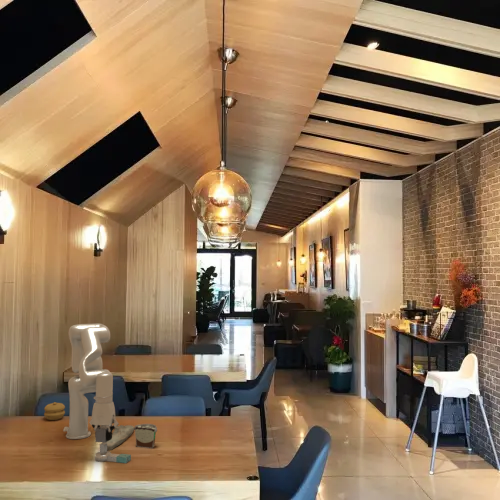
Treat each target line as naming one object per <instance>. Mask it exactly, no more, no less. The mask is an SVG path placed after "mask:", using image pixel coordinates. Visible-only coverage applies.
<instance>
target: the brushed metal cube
mask: <svg viewBox="0 0 500 500" xmlns="http://www.w3.org/2000/svg"><path fill="white" fill-rule="evenodd" d="M107 432H108V429H107V426H100V427H98V428H96V437H95V438H94V439H95V440H94V441H95V443H106V442H108V441H107Z"/></svg>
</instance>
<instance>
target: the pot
mask: <svg viewBox="0 0 500 500" xmlns="http://www.w3.org/2000/svg"><path fill="white" fill-rule="evenodd" d="M65 409H66V406H65V404H64V403H62V402H55V401H54V402H52V403H48V404H47V405H45V407H44V409H43V410H44V413H43V415H44V418H45V419H46V420H49V421H57V420H60V419H62V418H63V417H64V416H65V414H66V410H65Z"/></svg>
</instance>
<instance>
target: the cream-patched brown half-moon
mask: <svg viewBox="0 0 500 500" xmlns="http://www.w3.org/2000/svg"><path fill="white" fill-rule="evenodd" d="M133 427H134V436H135V446H136V447H137V448H145V449H152V450H153V449H154V448H155V443H156V436H157V435H156V433H157V431H158V427H157V425H156V424H153V423H140V424H137V425H134V426H133Z"/></svg>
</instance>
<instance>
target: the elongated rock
mask: <svg viewBox="0 0 500 500" xmlns="http://www.w3.org/2000/svg"><path fill="white" fill-rule="evenodd" d="M134 427H135V426H134V425H128V424H127V425H124V424H123V425H122V424H119V425H117V426H116V427H115V428H114V429H113V431H112V439H111V440H109V441H108V442H106V443H107V451H109V452H110V451H113V450H114V449H115V448H117V447H118V446H120V445H121V444H122V443H125V441H127V439H128V438H130V437H131V436H132V434H133V433H134V432H135V430H134Z"/></svg>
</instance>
